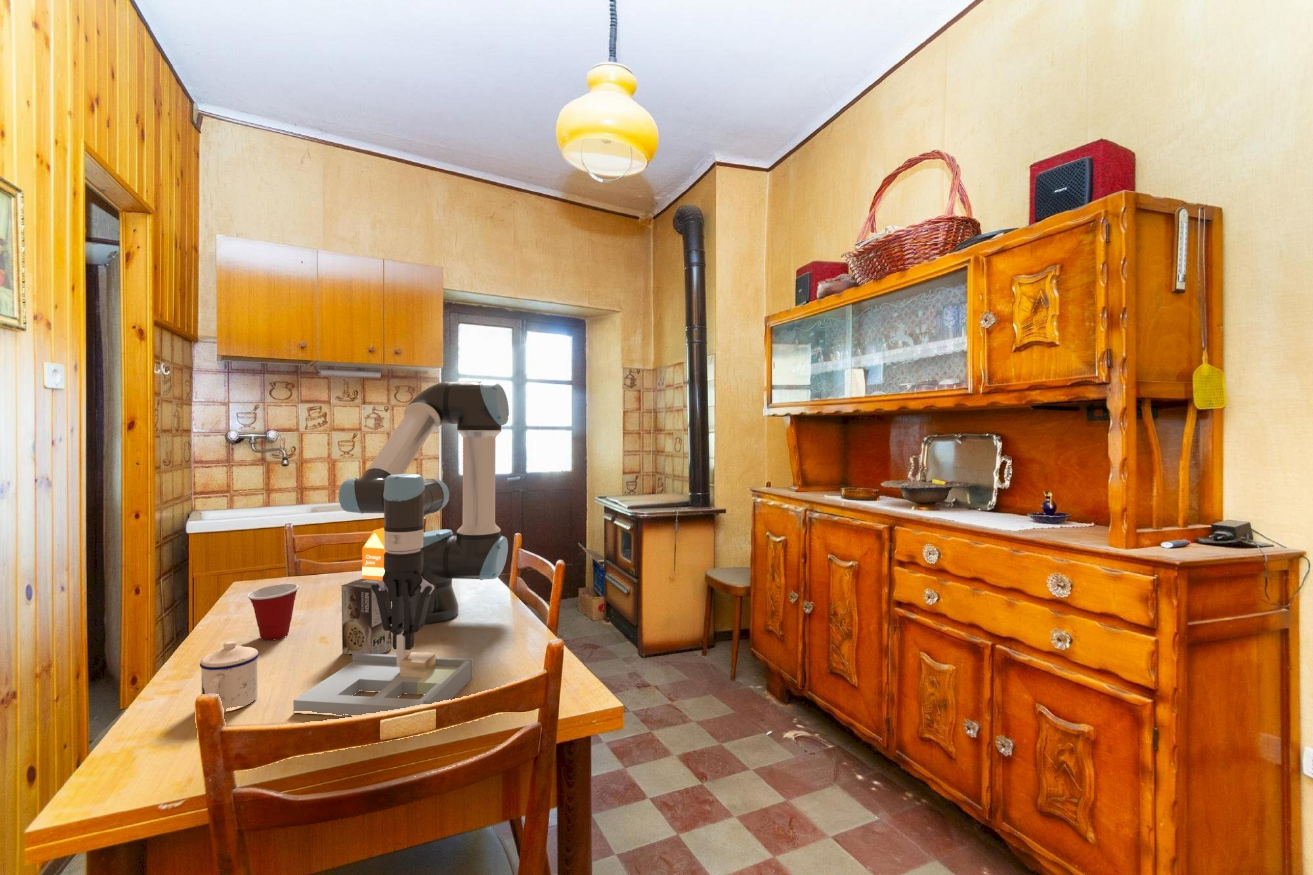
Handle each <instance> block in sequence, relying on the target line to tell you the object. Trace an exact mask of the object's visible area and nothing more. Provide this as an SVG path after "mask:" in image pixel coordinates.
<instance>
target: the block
mask: <svg viewBox="0 0 1313 875" xmlns="http://www.w3.org/2000/svg"><path fill="white" fill-rule="evenodd" d="M435 657H436V653H434V652H433V653H431V652H414V651H413V652H410V654H409V655H408V656H407V657H405V658H404V659H403V660H401V661H400V676H403V677H420V678H424V677H425V676H426V675H427V674H429V673H430V672H431V671H432V670H433V669H434V668H435Z"/></svg>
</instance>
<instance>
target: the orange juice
mask: <svg viewBox="0 0 1313 875" xmlns="http://www.w3.org/2000/svg"><path fill="white" fill-rule="evenodd" d="M385 552H386V550H385V549H384V527H382V528H378V529H377V528H376V529H373V532H371V535H369V537H368V539H367V540H366V542H365V544H364V545H363V547H362V553H361V554H362V557H361V558H362V560H361V562H362V564H361V565H362V567H361V569H362V572H361V574H362V578H361V579H371V580H380V581H381V580H382V578H383V575H384V573H385V570H384V553H385Z"/></svg>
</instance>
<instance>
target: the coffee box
mask: <svg viewBox="0 0 1313 875" xmlns="http://www.w3.org/2000/svg"><path fill="white" fill-rule="evenodd" d="M379 581H380V580H371V579H362V578H360V579H357V580H353V581H350V582H348V583H344V584H342V585H341V645H342V646H341V648H342V649H341V650H342V652H341V654H342V653H344V654H343V655H349V654H352V655H353V654H354V653H367V654H385V653H386V652H390V651H391V650H392V632H390V631H385V630H384V629H383V625H382V621H381V616H380V612H379V607H378V603H377V598H376V595H375V593H374V592H373V590H372V588H371V586H372V585H373V584H375V583H377V582H379ZM387 591H388V594H389V599H390V596H391V592H390V591H389V589H388V588H387ZM390 603H391V604H392V601H391V599H390ZM352 655H351V656H352Z"/></svg>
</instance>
